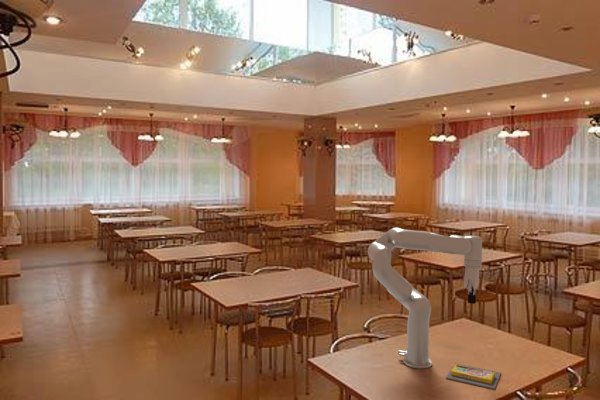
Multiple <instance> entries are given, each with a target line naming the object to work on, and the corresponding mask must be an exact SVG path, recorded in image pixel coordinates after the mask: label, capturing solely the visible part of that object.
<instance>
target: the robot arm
mask: <svg viewBox="0 0 600 400" xmlns="http://www.w3.org/2000/svg"><path fill="white" fill-rule="evenodd" d="M396 248H398V249H405V250H416V251H427V252H433V253H443V254H449V255H450V254H451V255H460V256H463V266H464V267H465V268H464V279H463V280H464V281H463V288H464V289H467V303H468V304H471V305H476V303H477V288H478V287H479V284H480V268H482V264H483V261H482V260H483V259H482V258H483V257H482V256H483V238H482V237H481V236H478V235H458V234H452V235H450V236H449V235H448V236H447V235H442V234H438V233H436V232H430V231H425V230H413V229H406V228H405V229H403V228H400V227H392V228H390V229H389V230H387V231H386V232H385V233H383V234H382V235H381V236H379V237H378V238H376V240H374V241H372V242H371V244H369V246H368V248H367V255H368V257H369V259H371V260H372V264H371V265H372V266H371V268H372V273H373V276H374V278H376V280H377V281H378V282H379V283H380V284H381V285H382V286H384V288H385V290H387V292H388V293H389V294H390V295H392V297H393V298H395V300H396V301H398V302H399V303H400V305H403V307H404V308H406V309H407V311H408V317H407V323H406V325H407V326H406V332H407V333H406V335H407V336H406V350H400V349H398V352H397V354H398V357H403V361H402V362H403V364H404V365H405V366H407V367H410V368H412V369H413V368H414V369H428V368H431V367H432V365H433V361H432V360H431V359H430V358H429V355H430V354H429V353H430V352H429V351H430V350H429V348H430V347H429V346H430V345H429V344H430V319H431V317H430V316H431V313H432V305H431V301H430V300H429V299H428V298H427V296H426V295H424V294H423V293H421V292H420V291H418V290H417V289H416V288H415V287H414V286H413V285H412V284H411V283H410V281H408V280H407V279H406V278H405V277H403V276H402V275H401V274H399V272H397V270H396V269H394V267H392V263H391V262H392V251H393V250H394V249H396Z"/></svg>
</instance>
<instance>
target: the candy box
mask: <svg viewBox="0 0 600 400" xmlns="http://www.w3.org/2000/svg"><path fill="white" fill-rule="evenodd" d="M457 364H458V363H456V364H455V363H454V365H455V366H454V365H453V366H454V368H453V367H452V368H453V369H452V368H451V369H452V371H451V370H450V371H451V375H454V376H458V377H463V378H467V379H472V380H476V381H480V382H485V383H489V384H491V383H492V381H493V379H494V377H495V372H496V371H495V372H490V371H491V370H490V371H485V370H486V369H485V370H481V369H482V368H480V369H476V368H477V367H476V368H472V367H473V366H471V367H467V366H468V365H466V366H462V365H463V364H461V365H457Z"/></svg>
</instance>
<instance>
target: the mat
mask: <svg viewBox="0 0 600 400" xmlns="http://www.w3.org/2000/svg"><path fill="white" fill-rule="evenodd" d="M455 364H457V365H462V366H467V367H472V368H476V369H481V370H485V371H490V372H495V377H494V379H493V381H492V383H491V384H489V383H485V382H480V381H476V380H472V379H467V378H463V377H458V376H454V375H451V371H452V369H453V368H454V366H455ZM501 374H502V372H499V371H494V370H490V369H485V368H480V367H475V366H470V365H465V364H461V363H454V365H453V366H452V367H451V369H450V371H449V372H448V373H447V375H446V377H445V379H446V380H449V381H450V380H451V381H455V382H459V383H462V384H463V383H464V384H467V385H471V386H472V385H473V386H477V387H482V388H484V389H485V388H486V389H490V390H494V391H495V390H496V387H497V385H498V383H499V380H500V377H501Z"/></svg>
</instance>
